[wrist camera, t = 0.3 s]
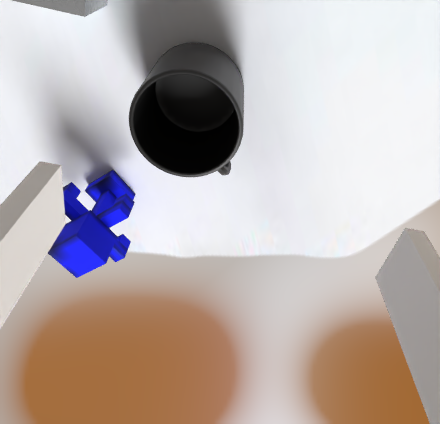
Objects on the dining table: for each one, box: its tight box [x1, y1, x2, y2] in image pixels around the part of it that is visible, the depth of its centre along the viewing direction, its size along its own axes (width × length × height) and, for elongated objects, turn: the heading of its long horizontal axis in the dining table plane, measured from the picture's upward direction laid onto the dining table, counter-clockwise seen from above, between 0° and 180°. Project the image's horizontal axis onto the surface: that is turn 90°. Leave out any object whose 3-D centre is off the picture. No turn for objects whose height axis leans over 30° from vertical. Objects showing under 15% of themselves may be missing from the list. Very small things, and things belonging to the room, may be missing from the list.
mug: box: [129, 43, 244, 177], centre depth 36 cm, size 9×12×9 cm
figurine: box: [48, 170, 135, 278], centre depth 41 cm, size 8×8×12 cm
